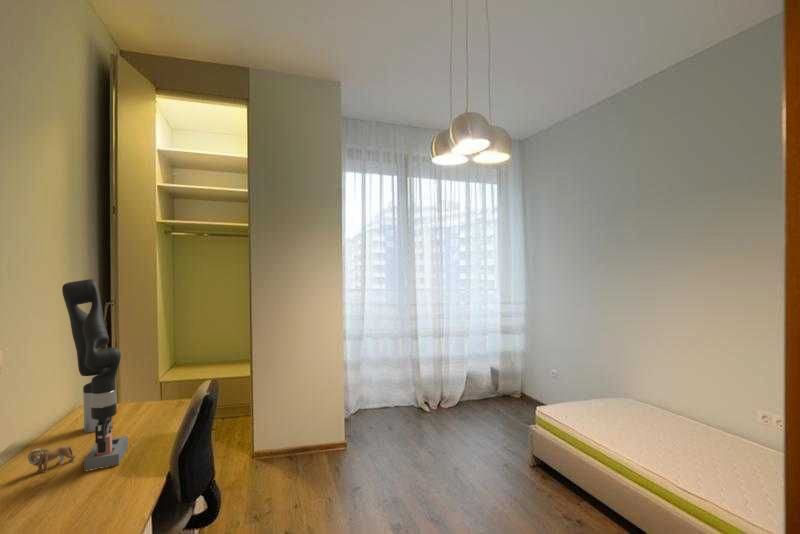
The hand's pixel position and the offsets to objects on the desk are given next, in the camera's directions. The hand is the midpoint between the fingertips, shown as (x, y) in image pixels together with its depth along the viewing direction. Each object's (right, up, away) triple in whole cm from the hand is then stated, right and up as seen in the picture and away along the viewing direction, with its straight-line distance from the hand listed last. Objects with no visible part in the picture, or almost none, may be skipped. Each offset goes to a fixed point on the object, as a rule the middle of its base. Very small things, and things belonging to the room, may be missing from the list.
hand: (104, 447), depth 146 cm
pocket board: (-2, -6, +4) cm, 7 cm away
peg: (0, -6, 0) cm, 6 cm away
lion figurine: (-16, -6, -3) cm, 18 cm away
